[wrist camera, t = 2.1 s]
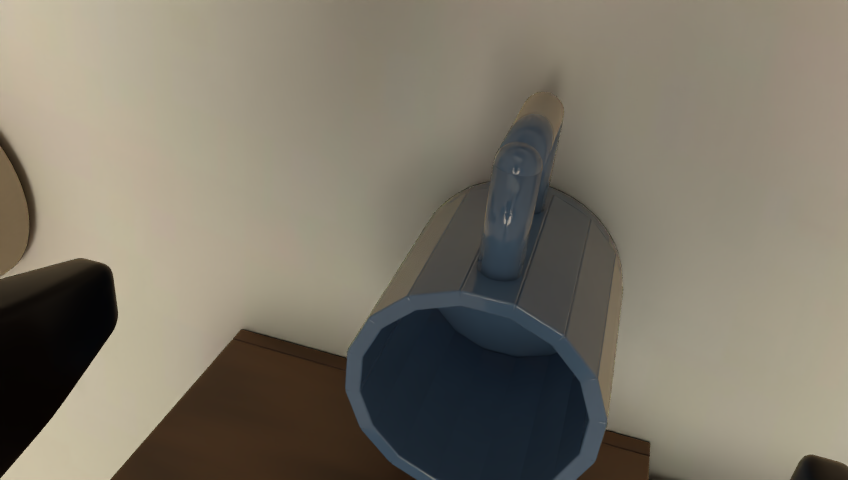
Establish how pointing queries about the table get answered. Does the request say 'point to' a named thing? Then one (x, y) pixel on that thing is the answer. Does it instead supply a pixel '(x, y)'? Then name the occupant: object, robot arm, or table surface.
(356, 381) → the mug
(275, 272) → the table surface
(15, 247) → the travel mug
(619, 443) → the cabinet
